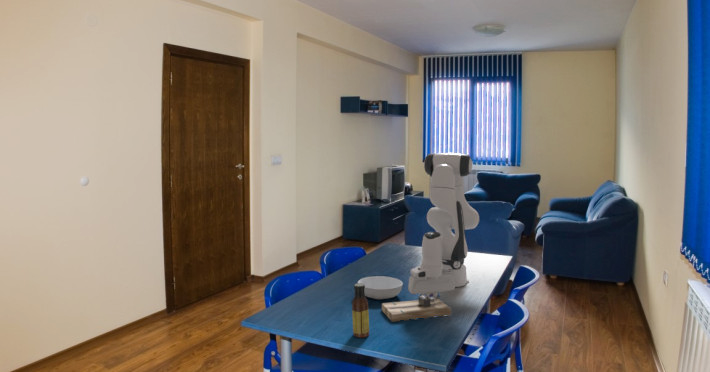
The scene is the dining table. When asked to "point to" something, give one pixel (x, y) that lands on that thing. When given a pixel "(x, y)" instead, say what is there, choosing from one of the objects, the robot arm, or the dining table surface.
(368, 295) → the serving bowl
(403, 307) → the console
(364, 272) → the dining table surface
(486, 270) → the dining table surface
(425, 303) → the fader
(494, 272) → the dining table surface
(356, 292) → the sauce bottle
